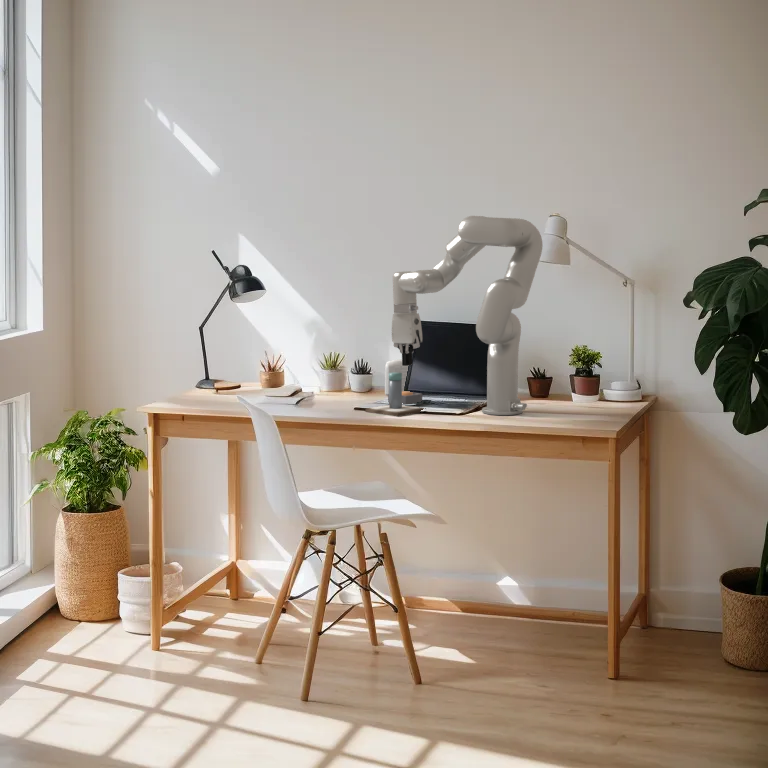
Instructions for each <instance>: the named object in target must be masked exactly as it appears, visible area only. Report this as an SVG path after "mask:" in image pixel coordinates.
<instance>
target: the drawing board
mask: <svg viewBox="0 0 768 768" xmlns="http://www.w3.org/2000/svg"><path fill="white" fill-rule="evenodd" d="M424 408H425V407H420V408H419V407H418V406H405V405H402V408H400V409H391V408H389V405H388V404H385V405H379V406H374V407H373V406H372V407H367V408H365V412H366V413H370V414H371V413H372V414H379V415H386V416H390V417H402V416H408V415H414V414H420V411H421V410H423V409H424ZM425 409H426V410H427V408H425Z"/></svg>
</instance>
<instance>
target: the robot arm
mask: <svg viewBox="0 0 768 768" xmlns="http://www.w3.org/2000/svg"><path fill="white" fill-rule="evenodd" d="M457 229H458V230H457V234H456V236H454V237H453V238H451V239H450V240H449V242H448V243H446V245H445V251H446V255H445V256H444V258H443V259H442V260H441V261H440V262H439V263H437V265H436V266H434V267H433V268H432V269H423V270H422V269H421V270H415V271H411V270H410V271H407V270H406V271H405V270H403V271H395V272H393V275H392V292H393V294H392V295H393V296H392V297H393V314H392V319H391V320H392V321H391V340H392V342H393V347H394V348H395V349H398V350H399V353H400V354H401V359H402V365H403V366H409V365H412V364H413V353H414V352H415V350H416V349H417V348H420V347H421V343H423V329H422V321H421V317H420V314H419V313H418V310H419V306H418V305H417V303H418V302H417V294H420V295H421V294H422V295H423V294H425V295H426V294H433V293H434V294H435V293H438V292H440V291H442V290H443V289H445V288H446V287H448V285H450V284H451V283H452V282H453V281H454V280H455V279H457V277H458V276H459V274H460V273H461V271H462V270H463V268H464V267H465V265H466V264H467V263H468V262H469V261H470V260H472V258H473V257H475V256H476V255H477V254H478V253H479V252H480V251H482V250H483V249H484V248H485V247H487V246H490V247H503V248H504V247H505V248H514V252H513V254H512V256H511V258H510V259H509V262H508V265H507V268H506V272H505V274H504V277H503V278H499V279H496V280H494V281H492V282H491V283H490V285H489V287H488V288H487V290H486V292H485V295H484V297H483V300H482V303H481V306H480V310H479V313H478V317H477V320H476V324H475V332H476V333H475V334H476V336H477V338H479V341H481V342H482V343H485V344H486V345H488V348H487V349H488V350H487V364H486V365H487V366H486V370H487V371H486V375H487V376H486V406H485V407H482V408H481V412H482V413H483V414H487V415H492V416H493V415H494V416H513V415H514V416H515V415H519V414H522V413H523V411H525V410H526V408H527V406H528V404H527V403H525V402H521V401H522V400H521V398H519V397H518V396H519V395H518V393H519V388H518V387H519V385H518V384H519V349H520V340H521V333H522V325H521V321H520V319H519V317H518V316H517V315H516V314H515V313H513V312H512V311H513V310H514V309H515V310H517V309H519V308H522V307H523V306H524V305H525V304H526V303H527V300H528V297H529V294H530V290H531V289H532V286H533V282H534V277H535V274H536V272H537V268H538V265H539V263H540V259H541V256H542V253H543V247H544V246H543V238H542V235H541V232H540V231H539V229H538V228H537V226H536V225H534V224H533V223H532V222H531V221H529V220H526V219H524V218H512V217H511V218H510V217H492V216H491V217H490V216H483V215H482V216H481V215H470V216H467V217H465V218H463V220H462V221H461V222H460V223H459V225H458V228H457Z"/></svg>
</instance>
